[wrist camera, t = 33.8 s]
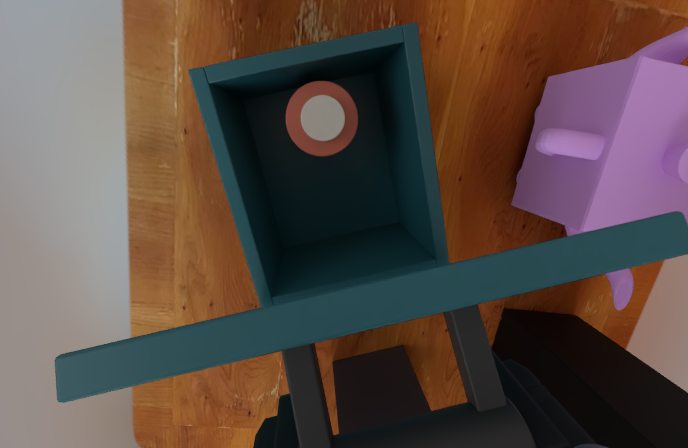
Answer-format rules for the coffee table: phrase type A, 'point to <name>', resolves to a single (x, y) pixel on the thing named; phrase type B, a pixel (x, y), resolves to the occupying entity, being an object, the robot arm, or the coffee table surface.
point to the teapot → (611, 146)
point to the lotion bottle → (321, 118)
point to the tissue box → (596, 380)
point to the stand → (376, 389)
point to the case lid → (378, 311)
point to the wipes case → (328, 166)
